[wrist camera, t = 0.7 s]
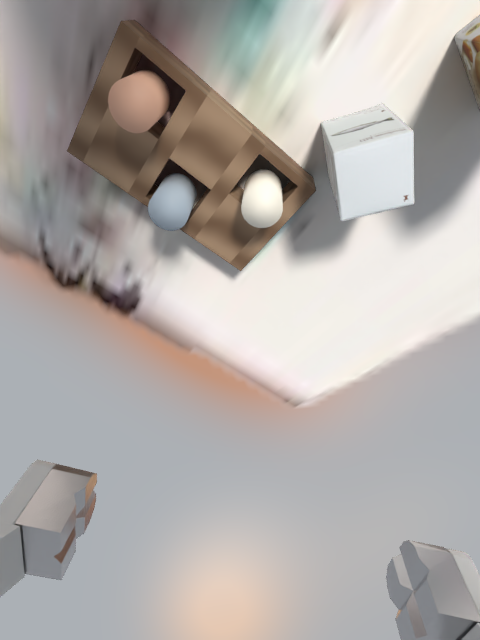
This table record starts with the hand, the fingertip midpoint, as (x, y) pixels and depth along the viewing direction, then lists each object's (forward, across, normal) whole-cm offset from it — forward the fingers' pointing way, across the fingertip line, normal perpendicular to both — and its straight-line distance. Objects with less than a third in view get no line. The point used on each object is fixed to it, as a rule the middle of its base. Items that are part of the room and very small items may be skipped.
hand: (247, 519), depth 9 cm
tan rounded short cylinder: (+39, +16, -10) cm, 43 cm away
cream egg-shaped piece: (+41, +1, -4) cm, 41 cm away
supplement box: (+44, -8, -11) cm, 46 cm away
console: (+44, +10, -5) cm, 46 cm away
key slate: (+41, +12, -1) cm, 43 cm away
